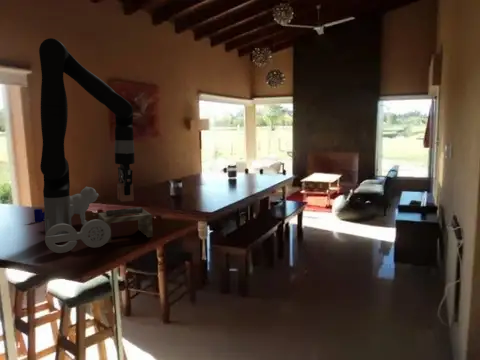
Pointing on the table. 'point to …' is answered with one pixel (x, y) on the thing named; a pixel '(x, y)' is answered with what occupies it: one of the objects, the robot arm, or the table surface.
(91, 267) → the table surface
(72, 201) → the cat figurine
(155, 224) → the table surface
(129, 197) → the tan block
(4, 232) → the table surface
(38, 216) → the cable clip
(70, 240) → the gray double disc plate
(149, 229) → the shelf
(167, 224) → the table surface
